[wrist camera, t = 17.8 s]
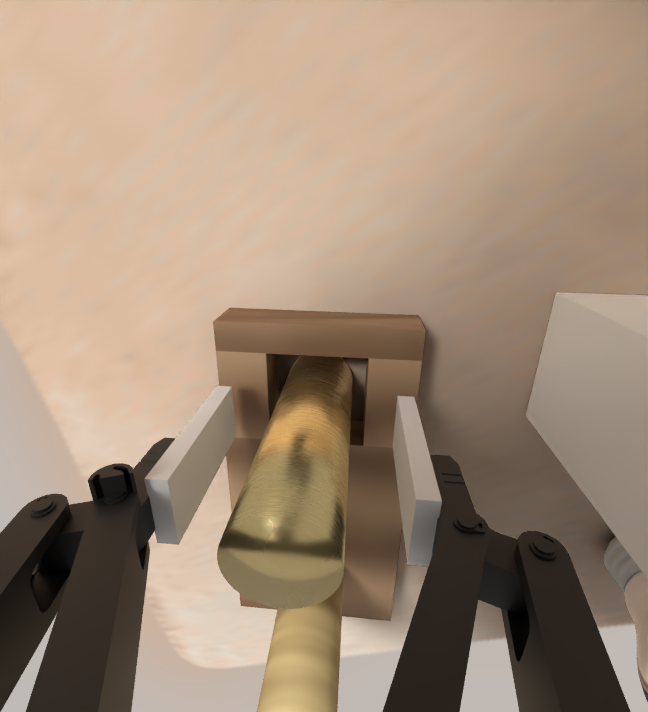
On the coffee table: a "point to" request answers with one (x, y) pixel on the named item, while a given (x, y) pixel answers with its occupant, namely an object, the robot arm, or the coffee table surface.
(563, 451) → the block
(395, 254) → the coffee table surface
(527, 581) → the robot arm
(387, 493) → the board
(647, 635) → the light bulb
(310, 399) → the pin
